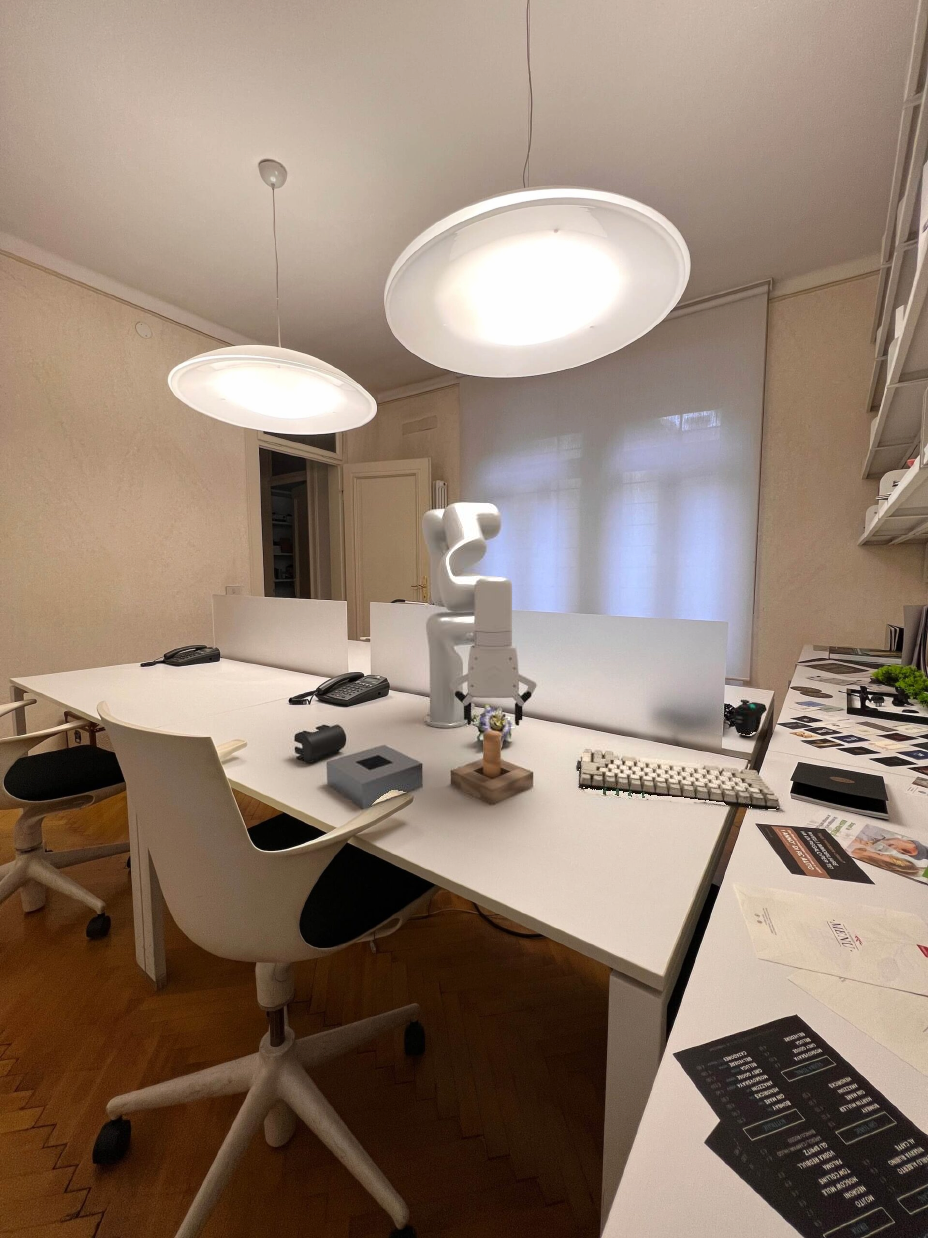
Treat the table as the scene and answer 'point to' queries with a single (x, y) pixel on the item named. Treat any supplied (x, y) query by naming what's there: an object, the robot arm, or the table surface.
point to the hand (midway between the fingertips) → (493, 723)
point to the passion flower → (493, 723)
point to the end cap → (319, 742)
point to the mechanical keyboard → (674, 780)
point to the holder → (491, 781)
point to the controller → (748, 717)
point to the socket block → (373, 774)
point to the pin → (492, 754)
